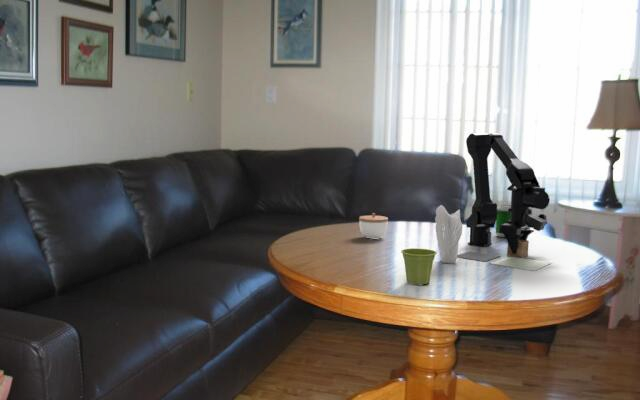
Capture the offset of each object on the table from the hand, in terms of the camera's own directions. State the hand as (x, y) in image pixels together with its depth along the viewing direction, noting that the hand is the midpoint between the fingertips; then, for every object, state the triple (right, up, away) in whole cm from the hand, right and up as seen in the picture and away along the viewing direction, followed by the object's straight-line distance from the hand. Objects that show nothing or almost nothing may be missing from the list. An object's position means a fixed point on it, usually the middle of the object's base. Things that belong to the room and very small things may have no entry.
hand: (517, 252), depth 218 cm
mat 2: (-2, -3, -12) cm, 13 cm away
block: (0, -1, 0) cm, 1 cm away
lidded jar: (-45, +3, +28) cm, 53 cm away
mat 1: (-14, -1, -3) cm, 14 cm away
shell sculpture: (-25, -2, -11) cm, 28 cm away
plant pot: (-38, -5, -38) cm, 54 cm away
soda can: (+6, +3, +35) cm, 36 cm away
